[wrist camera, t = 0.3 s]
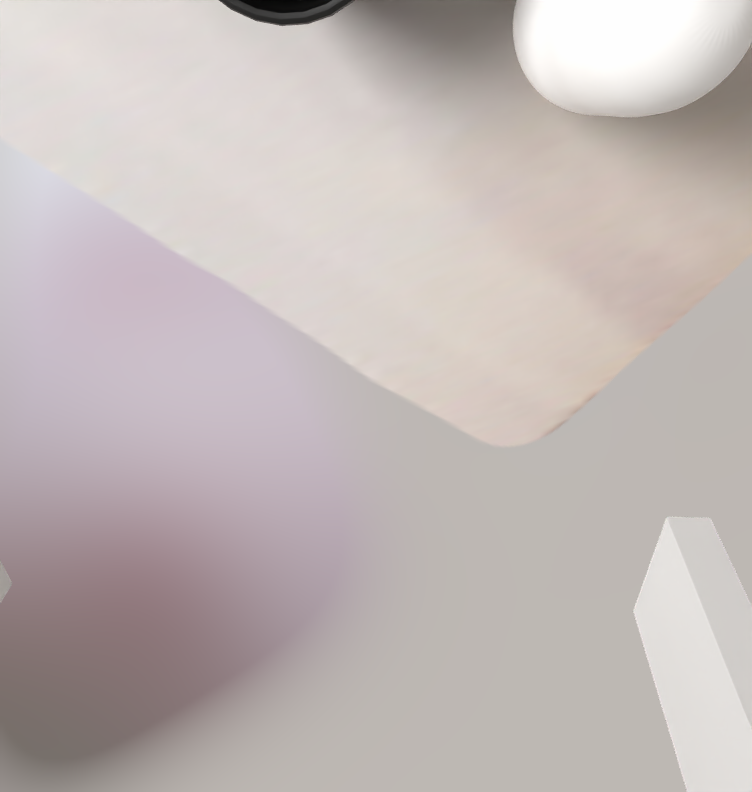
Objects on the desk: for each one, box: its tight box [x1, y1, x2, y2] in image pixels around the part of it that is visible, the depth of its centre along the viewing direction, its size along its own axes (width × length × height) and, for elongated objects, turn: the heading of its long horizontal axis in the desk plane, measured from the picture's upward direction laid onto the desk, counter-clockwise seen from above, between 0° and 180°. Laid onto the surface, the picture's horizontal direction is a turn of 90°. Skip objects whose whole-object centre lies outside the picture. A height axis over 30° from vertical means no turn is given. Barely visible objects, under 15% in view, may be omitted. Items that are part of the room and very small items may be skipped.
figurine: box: [513, 0, 752, 117], centre depth 26 cm, size 7×8×12 cm
